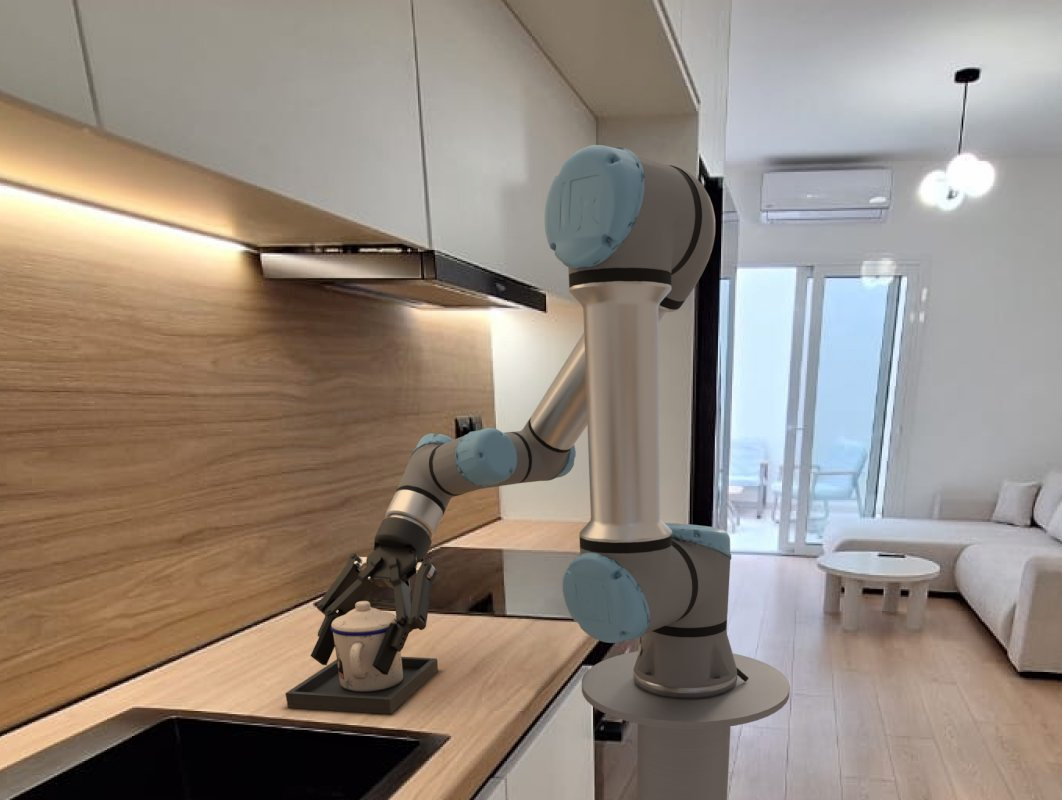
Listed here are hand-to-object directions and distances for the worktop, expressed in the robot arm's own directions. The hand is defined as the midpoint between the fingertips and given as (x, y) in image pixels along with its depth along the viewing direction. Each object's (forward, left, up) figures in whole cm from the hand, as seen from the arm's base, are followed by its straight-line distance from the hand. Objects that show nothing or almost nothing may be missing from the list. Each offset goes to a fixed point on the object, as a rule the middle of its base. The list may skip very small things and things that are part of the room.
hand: (348, 665), depth 110 cm
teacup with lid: (-1, -3, -4) cm, 5 cm away
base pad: (-1, -3, -5) cm, 5 cm away
